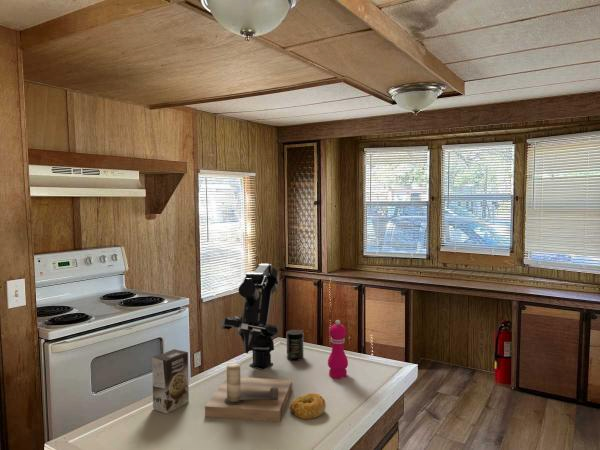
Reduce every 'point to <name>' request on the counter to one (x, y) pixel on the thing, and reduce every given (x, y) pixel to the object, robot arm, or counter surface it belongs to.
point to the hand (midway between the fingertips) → (246, 353)
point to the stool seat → (251, 400)
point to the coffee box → (170, 380)
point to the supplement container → (294, 344)
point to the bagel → (308, 406)
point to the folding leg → (235, 387)
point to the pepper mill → (337, 351)
